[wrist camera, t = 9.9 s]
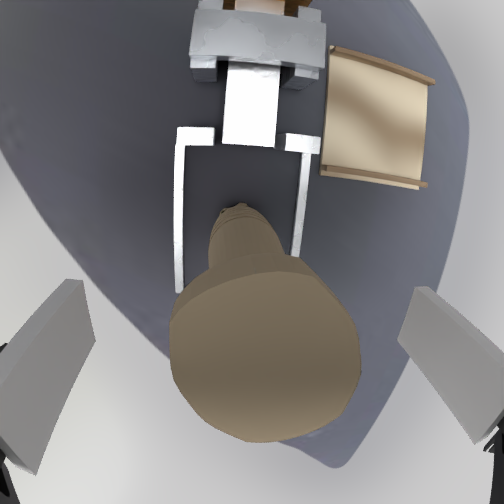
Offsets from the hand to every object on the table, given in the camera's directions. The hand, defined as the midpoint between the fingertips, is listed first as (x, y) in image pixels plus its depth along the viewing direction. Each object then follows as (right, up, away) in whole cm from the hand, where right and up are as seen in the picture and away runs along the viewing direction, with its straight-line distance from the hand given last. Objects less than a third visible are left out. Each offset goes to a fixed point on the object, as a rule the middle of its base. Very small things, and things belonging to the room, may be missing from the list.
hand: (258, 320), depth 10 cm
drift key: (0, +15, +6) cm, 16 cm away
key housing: (0, +17, +6) cm, 18 cm away
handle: (-1, +5, +11) cm, 12 cm away
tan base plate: (+9, +13, +9) cm, 18 cm away
